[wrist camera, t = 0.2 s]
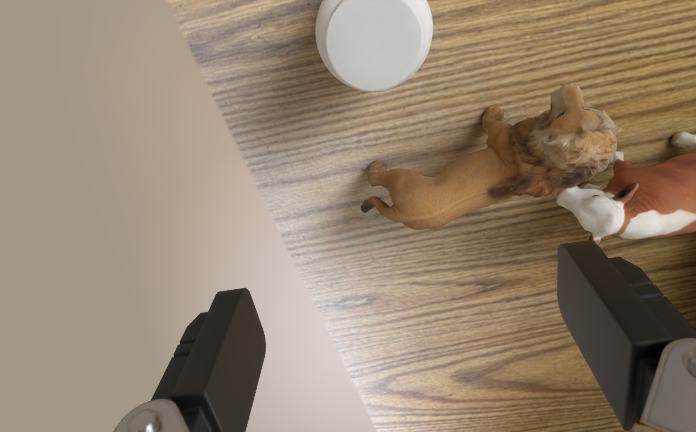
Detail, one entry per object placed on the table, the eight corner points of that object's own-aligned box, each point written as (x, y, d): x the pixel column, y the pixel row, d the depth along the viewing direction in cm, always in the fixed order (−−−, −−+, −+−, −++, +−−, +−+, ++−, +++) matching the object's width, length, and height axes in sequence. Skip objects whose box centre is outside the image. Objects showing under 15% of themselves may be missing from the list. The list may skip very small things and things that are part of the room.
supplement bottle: (319, -29, 27) (297, -24, 18) (416, -42, 27) (441, -45, 18) (332, 70, 29) (318, 115, 21) (422, 59, 29) (446, 100, 20)
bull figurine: (526, 143, 31) (574, 197, 24) (748, 118, 30) (869, 168, 23) (524, 204, 33) (567, 270, 26) (732, 183, 32) (838, 247, 25)
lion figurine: (542, 49, 29) (611, 82, 21) (579, 121, 30) (655, 177, 22) (341, 179, 33) (333, 248, 25) (384, 235, 35) (389, 316, 27)
